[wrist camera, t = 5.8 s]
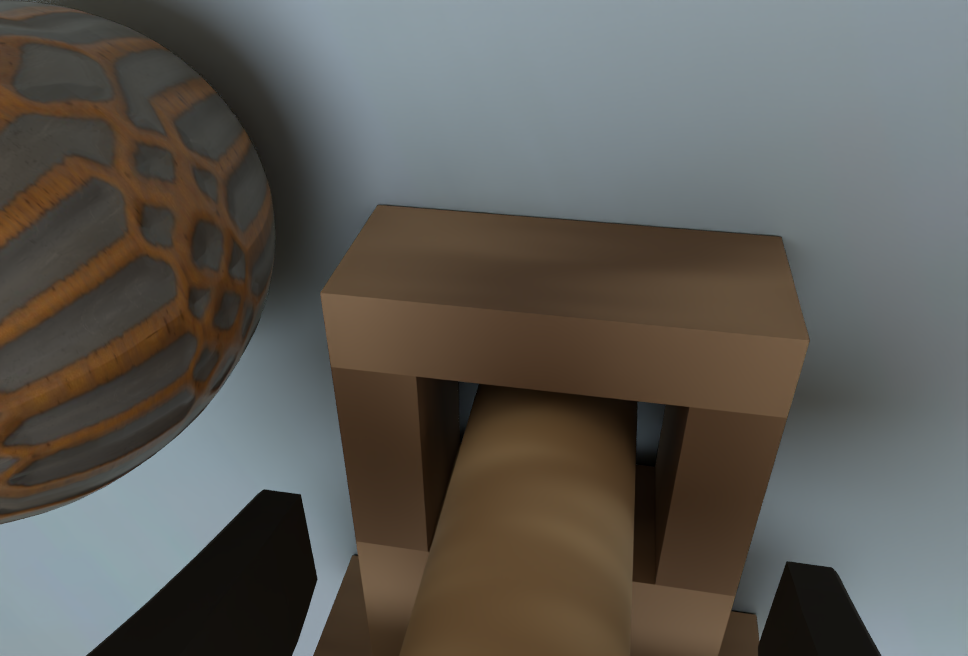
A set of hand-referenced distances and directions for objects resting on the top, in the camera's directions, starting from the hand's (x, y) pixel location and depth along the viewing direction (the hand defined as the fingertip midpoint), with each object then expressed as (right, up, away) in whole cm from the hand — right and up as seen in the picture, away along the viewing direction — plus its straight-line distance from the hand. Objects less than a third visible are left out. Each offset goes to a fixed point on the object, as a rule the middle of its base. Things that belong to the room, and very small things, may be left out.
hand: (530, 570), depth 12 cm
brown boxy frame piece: (+1, +1, +5) cm, 5 cm away
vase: (-7, +7, +3) cm, 10 cm away
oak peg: (+1, +3, +4) cm, 5 cm away
